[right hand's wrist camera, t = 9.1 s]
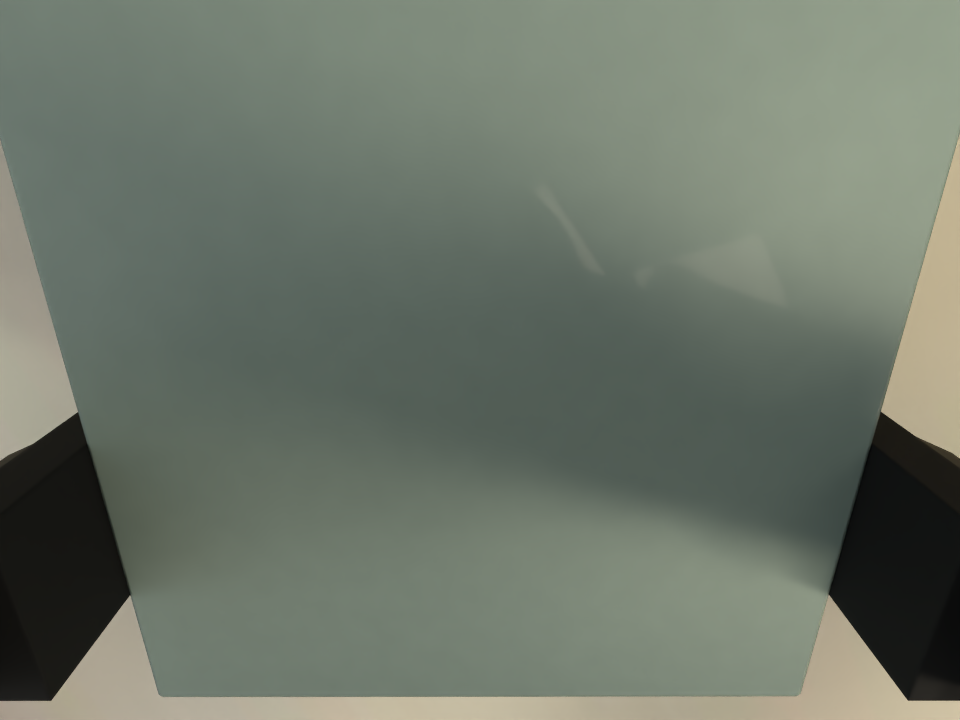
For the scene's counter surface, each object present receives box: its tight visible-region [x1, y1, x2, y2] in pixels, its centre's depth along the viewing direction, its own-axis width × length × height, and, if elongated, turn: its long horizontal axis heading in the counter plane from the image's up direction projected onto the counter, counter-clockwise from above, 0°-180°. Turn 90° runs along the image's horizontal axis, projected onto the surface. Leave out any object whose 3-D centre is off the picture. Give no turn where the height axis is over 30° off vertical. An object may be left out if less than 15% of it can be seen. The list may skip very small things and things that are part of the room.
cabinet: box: [0, 0, 960, 697], centre depth 11 cm, size 20×11×9 cm, turn 0°
